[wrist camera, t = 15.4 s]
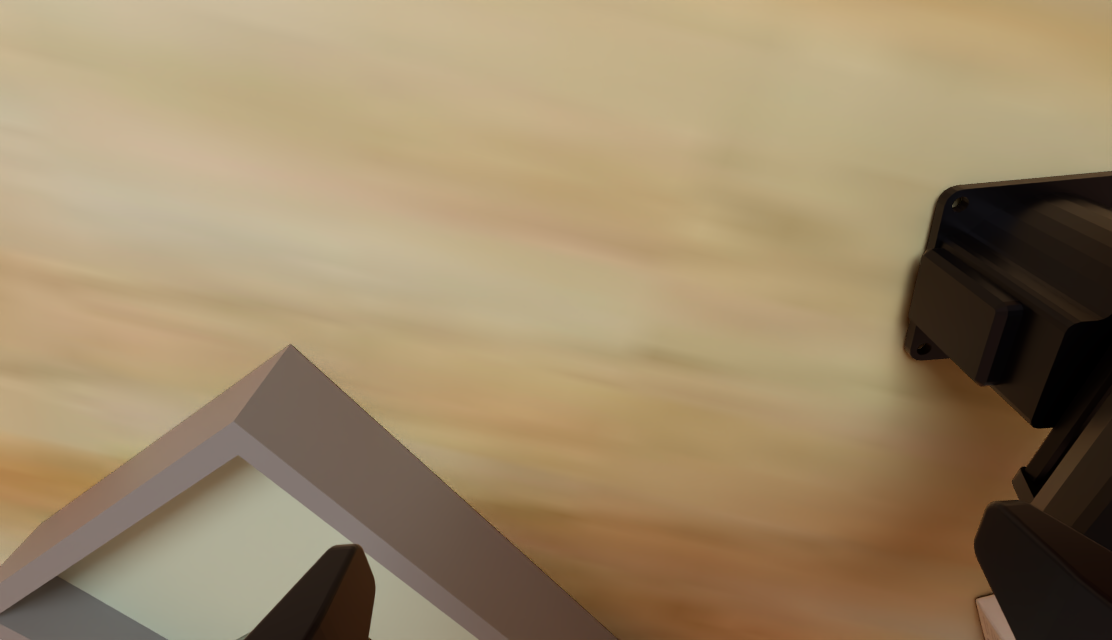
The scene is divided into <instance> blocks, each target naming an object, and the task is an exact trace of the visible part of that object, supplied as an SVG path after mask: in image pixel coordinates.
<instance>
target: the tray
mask: <svg viewBox="0 0 1112 640" xmlns="http://www.w3.org/2000/svg"><path fill="white" fill-rule="evenodd" d="M342 544H359V545H360V546H361V547H362V548H363V550H364V552H365V555H366V558H367V560H368V563H369V565H370V568H371V570H372V573H373V576H374V579H375V586H376V591H375V600H374V606H373V612H372V619H371V625H370V631H369V638H370V639H372V640H618V639H617V638H616V637H615V636H613V635H612V634H611V633H610V632H609V631H608V630H607V629H606V628H605V627H603V626H602V625H601V624H600V623H599V622H598V621H597V620H596V619H595V618H593V617H592V616H591V615H590V614H589V613H588V612H587V611H586V610H585V609H584V608H582V607H581V606H580V605H579V604H578V603H577V602H576V601H575V600H574V599H572V598H571V597H570V596H569V595H568V594H567V593H566V592H565V591H564V590H562V589H561V588H560V587H559V586H558V585H557V584H556V583H555V582H554V581H552V580H551V579H550V578H549V577H548V576H547V575H546V574H545V573H544V572H542V571H541V570H540V569H539V568H538V567H537V566H536V565H535V564H534V563H532V562H531V561H530V560H529V559H528V558H527V557H526V556H525V555H524V554H523V553H521V552H520V551H519V550H518V549H517V548H516V547H515V546H514V545H513V544H511V543H510V542H509V541H508V540H507V539H506V538H505V537H504V536H503V535H501V534H500V533H499V532H498V531H497V530H496V529H495V528H494V527H493V526H491V525H490V524H489V523H488V522H487V521H486V520H485V519H484V518H483V517H481V516H480V515H479V514H478V513H477V512H476V511H475V510H474V509H473V508H472V507H470V506H469V505H468V504H467V503H466V502H465V501H464V500H463V499H462V498H460V497H459V496H458V495H457V494H456V493H455V492H454V491H453V490H452V489H450V488H449V487H448V486H447V485H446V484H445V483H444V482H443V481H442V480H440V479H439V478H438V477H437V476H436V475H435V474H434V473H433V472H432V471H430V470H429V469H428V468H427V467H426V466H425V465H424V464H423V463H422V462H420V461H419V460H418V459H417V458H416V457H415V456H414V455H413V454H412V453H411V452H409V451H408V450H407V449H406V448H405V447H404V446H403V445H402V444H401V443H399V442H398V441H397V440H396V439H395V438H394V437H393V436H392V435H391V434H389V433H388V432H387V431H386V430H385V429H384V428H383V427H382V426H381V425H379V424H378V423H377V422H376V421H375V420H374V419H373V418H372V417H371V416H369V415H368V414H367V413H366V412H365V411H364V410H363V409H362V408H361V407H360V406H358V405H357V404H356V403H355V402H354V401H353V400H352V399H351V398H350V397H348V396H347V395H346V394H345V393H344V392H343V391H342V390H341V389H340V388H338V387H337V386H336V385H335V384H334V383H333V382H332V381H331V380H330V379H328V378H327V377H326V376H325V375H324V374H323V373H322V372H321V371H320V370H318V369H317V368H316V367H315V366H314V365H313V364H312V363H311V362H310V361H308V360H307V359H306V358H305V357H304V356H303V355H302V354H301V353H300V352H299V351H297V350H296V349H295V348H294V347H293V346H292V345H291V344H290V345H288V346H287V347H285V348H284V349H283V350H281V351H280V352H278V353H277V354H276V355H274V356H273V357H272V358H270V359H269V360H267V361H266V362H265V363H263V364H262V365H260V366H259V367H258V368H256V369H255V370H254V371H252V372H251V373H249V374H248V375H247V376H245V377H244V378H242V379H241V380H240V381H238V382H237V383H236V384H234V385H233V386H231V387H230V388H229V389H227V390H226V391H224V392H223V393H222V394H220V395H219V396H217V397H216V398H215V399H213V400H212V401H211V402H209V403H208V404H206V405H205V406H204V407H202V408H201V409H199V410H198V411H197V412H195V413H194V414H193V415H191V416H190V417H188V418H187V419H186V420H184V421H183V422H181V423H180V424H179V425H177V426H176V427H175V428H173V429H172V430H170V431H169V432H168V433H166V434H165V435H163V436H162V437H161V438H159V439H158V440H156V441H155V442H154V443H152V444H151V445H150V446H148V447H147V448H145V449H144V450H143V451H141V452H140V453H138V454H137V455H136V456H134V457H133V458H132V459H130V460H129V461H127V462H126V463H125V464H123V465H122V466H120V467H119V468H118V469H116V470H115V471H114V472H112V473H111V474H109V475H108V476H107V477H105V478H104V479H102V480H101V481H100V482H98V483H97V484H95V485H94V486H93V487H91V488H90V489H89V490H87V491H86V492H84V493H83V494H82V495H80V496H79V497H77V498H76V499H75V500H73V501H72V502H71V503H69V504H68V505H66V506H65V507H64V508H62V509H61V510H59V511H58V512H57V513H55V514H54V515H53V516H51V517H50V518H48V519H47V520H46V521H44V522H43V523H41V524H40V525H39V526H38V527H37V528H36V529H35V530H34V531H33V532H32V533H31V534H30V535H29V537H28V538H27V539H26V540H25V541H24V542H23V543H22V544H21V545H20V546H19V547H18V548H17V549H16V550H15V551H14V552H13V553H12V554H11V555H10V557H9V558H8V559H7V560H6V561H5V562H4V563H3V564H2V565H1V566H0V639H1V640H244V639H245V638H246V637H247V636H248V634H249V633H250V632H251V631H252V630H253V629H254V628H255V627H256V626H257V625H258V624H259V623H260V622H261V620H262V619H263V618H264V617H265V616H266V615H267V614H268V613H269V612H270V611H271V610H272V609H273V608H274V607H275V605H276V604H277V603H278V602H279V601H280V600H281V599H282V598H283V597H284V596H285V595H286V594H287V593H288V592H289V590H290V589H291V588H292V587H293V586H294V585H295V584H296V583H297V582H298V581H299V580H300V579H301V578H302V576H303V575H304V574H305V573H306V572H307V571H308V570H309V569H310V568H311V567H312V566H313V565H314V564H315V563H316V561H317V560H318V559H319V558H320V557H321V556H322V555H323V554H324V553H325V552H326V551H327V550H328V549H329V548H331V547H332V546H334V545H342Z"/></svg>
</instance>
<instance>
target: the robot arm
mask: <svg viewBox="0 0 1112 640" xmlns="http://www.w3.org/2000/svg"><path fill="white" fill-rule="evenodd" d="M960 197H961V198H962V200H961V202H960V204H958V205H957V206H956V207H953V208H952V205H953V203H954V201H955V200H956V199H957V198H960ZM909 319H910V323H909V327H908V332H907V336H906V340H905V350H906V351H907V353H908V354H909V355H910V356H911V357H912V358H914V359H915V360H933V359H946V358H950V359H951V360H953V361H954V362H955V363H956V364H957V365H958V366H959V367H960V368H961V369H962V370H963V371H964V372H965V373H966V374H967V375H968V376H969V377H970V378H971V379H972V380H973V381H974V382H975V383H976V384H977V385H979V386H990V387H991V388H992V389H994V390H995V391H996V392H997V393H998V394H999V395H1000V396H1001V397H1002V398H1003V399H1004V400H1005V401H1006V402H1007V403H1008V404H1009V405H1010V406H1011V407H1013V408H1014V409H1015V410H1016V411H1017V412H1018V413H1019V414H1020V415H1021V416H1022V417H1023V418H1024V419H1025V420H1026V421H1027V422H1028V423H1029V424H1030V425H1032V426H1033V427H1034V428H1053V429H1052V430H1051V432H1050V433H1049V435H1048V436H1047V438H1046V439H1045V441H1044V442H1043V443H1042V445H1041V446H1040V448H1039V449H1038V451H1037V452H1036V454H1035V455H1034V457H1033V458H1032V459H1031V461H1030V462H1029V464H1028V465H1027V467H1021V468H1020V470H1019V471H1018V473H1017V474H1016V475H1015V477H1014V478H1013V480H1012V484H1013V487H1014V489H1015V491H1016V494H1017V496H1018V498H1019V500H1008V501H995V502H991V503H990V504H989V505H988V506H987V507H986V509H985V512H984V514H983V517H982V520H981V522H980V525H979V528H978V531H977V533H976V536H975V539H974V550H975V554H976V557H977V560H978V562H979V564H980V566H981V568H982V570H983V572H984V574H985V577H986V579H987V581H988V583H989V585H990V587H991V589H992V591H993V593H994V595H995V597H996V600H997V602H998V604H999V606H1000V608H1001V610H1002V612H1003V614H1004V616H1005V618H1006V620H1007V623H1008V625H1009V627H1010V629H1011V631H1012V633H1013V635H1014V637H1015V639H1016V640H1112V171H1108V172H1097V173H1086V174H1075V175H1064V176H1053V177H1043V178H1032V179H1021V180H1010V181H999V182H988V183H977V184H966V185H957V186H953V187H950V188H948V189H947V190H945V191H944V192H943V193H942V194H941V195H940V197H939V199H938V202H937V206H936V210H935V215H934V219H933V223H932V228H931V232H930V236H929V241H928V245H927V249H926V252H925V253H924V254H923V256H922V258H921V262H920V267H919V271H918V276H917V280H916V284H915V289H914V293H913V298H912V302H911V306H910V311H909ZM924 343H925V345H924V346H923V347H921V348H919V349H918V347H919V346H920V345H921V344H924ZM375 591H376V586H375V579H374V576H373V573H372V570H371V568H370V565H369V563H368V560H367V558H366V555H365V552H364V550H363V548H362V547H361V546H360V545H359V544H342V545H334V546H332V547H331V548H329V549H328V550H327V551H326V552H325V553H324V554H323V555H322V556H321V557H320V558H319V559H318V560H317V561H316V563H315V564H314V565H313V566H312V567H311V568H310V569H309V570H308V571H307V572H306V573H305V574H304V575H303V576H302V578H301V579H300V580H299V581H298V582H297V583H296V584H295V585H294V586H293V587H292V588H291V589H290V590H289V592H288V593H287V594H286V595H285V596H284V597H283V598H282V599H281V600H280V601H279V602H278V603H277V604H276V605H275V607H274V608H273V609H272V610H271V611H270V612H269V613H268V614H267V615H266V616H265V617H264V618H263V619H262V620H261V622H260V623H259V624H258V625H257V626H256V627H255V628H254V629H253V630H252V631H251V632H250V633H249V634H248V636H247V637H246V638H245V639H244V640H368V638H369V631H370V625H371V619H372V612H373V606H374V600H375Z"/></svg>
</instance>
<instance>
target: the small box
mask: <svg viewBox="0 0 1112 640" xmlns="http://www.w3.org/2000/svg"><path fill="white" fill-rule="evenodd" d="M976 604H977V609H978V613H979V618H980V621H981V625H982V629H983V633H984V637H985V640H1016V639H1015V637H1014V635H1013V633H1012V631H1011V629H1010V627H1009V625H1008V623H1007V620H1006V618H1005V616H1004V614H1003V612H1002V610H1001V608H1000V606H999V604H998V602H997V600H996V597H995V595H994V594H993V595H989V596H985V597H981V598H978V599H976Z"/></svg>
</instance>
